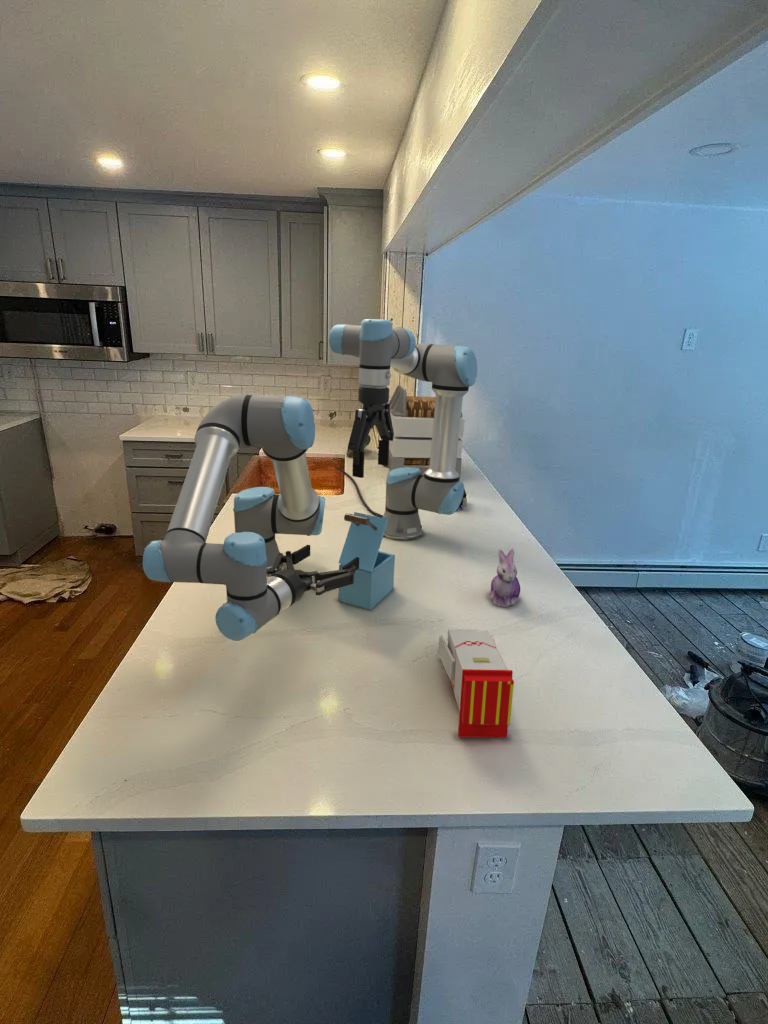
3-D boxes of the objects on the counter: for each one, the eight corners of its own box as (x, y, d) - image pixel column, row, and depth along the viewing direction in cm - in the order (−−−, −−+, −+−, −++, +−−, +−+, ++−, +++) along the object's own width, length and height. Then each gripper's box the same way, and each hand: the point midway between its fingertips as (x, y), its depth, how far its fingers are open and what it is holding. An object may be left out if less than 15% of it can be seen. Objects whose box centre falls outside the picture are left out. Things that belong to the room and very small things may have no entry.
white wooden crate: (382, 463, 289) (386, 382, 275) (445, 464, 293) (451, 384, 279) (390, 482, 257) (394, 392, 243) (460, 483, 261) (468, 394, 247)
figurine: (502, 611, 151) (509, 560, 146) (479, 594, 159) (485, 545, 154) (530, 604, 155) (537, 554, 150) (506, 588, 163) (512, 540, 158)
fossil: (346, 440, 316) (367, 425, 311) (357, 453, 319) (378, 438, 314) (340, 453, 296) (362, 438, 291) (351, 468, 299) (374, 452, 294)
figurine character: (467, 515, 225) (461, 499, 238) (469, 498, 221) (463, 482, 235) (450, 514, 224) (445, 498, 238) (452, 497, 221) (447, 482, 234)
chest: (363, 580, 165) (364, 547, 161) (393, 588, 161) (395, 554, 157) (338, 600, 153) (338, 564, 149) (370, 609, 149) (371, 573, 145)
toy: (488, 613, 130) (523, 677, 101) (484, 667, 133) (517, 744, 104) (435, 612, 130) (455, 676, 101) (432, 666, 133) (451, 743, 103)
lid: (355, 512, 152) (342, 502, 144) (388, 519, 148) (376, 509, 140) (339, 563, 150) (324, 556, 142) (372, 572, 145) (359, 565, 138)
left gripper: (232, 593, 124) (290, 558, 142) (330, 624, 113) (378, 582, 131) (230, 562, 121) (289, 530, 139) (330, 590, 111) (380, 553, 129)
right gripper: (362, 393, 125) (360, 485, 133) (409, 382, 147) (404, 462, 154) (333, 389, 128) (332, 479, 136) (383, 380, 150) (380, 458, 157)
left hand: (333, 556), depth 135 cm, fingers open, 13 cm apart
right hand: (371, 470), depth 145 cm, fingers open, 13 cm apart
